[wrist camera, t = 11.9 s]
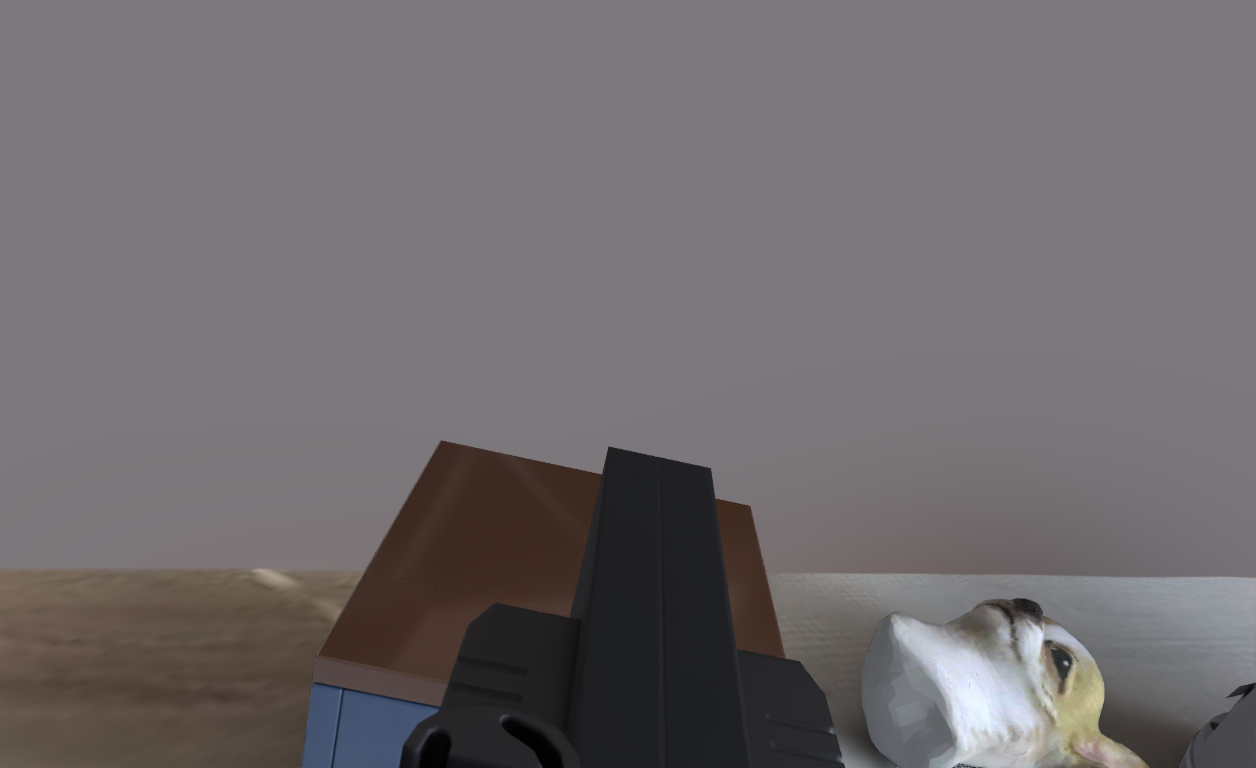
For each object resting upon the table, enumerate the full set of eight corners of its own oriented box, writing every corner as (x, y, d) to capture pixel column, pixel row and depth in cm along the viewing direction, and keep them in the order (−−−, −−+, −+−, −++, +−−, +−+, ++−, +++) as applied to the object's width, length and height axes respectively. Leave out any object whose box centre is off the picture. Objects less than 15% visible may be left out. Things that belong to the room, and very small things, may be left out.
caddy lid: (437, 457, 37) (440, 439, 37) (746, 523, 37) (751, 505, 37) (310, 682, 23) (314, 655, 23) (800, 780, 24) (809, 754, 23)
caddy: (394, 694, 39) (432, 466, 36) (683, 752, 40) (747, 532, 37) (269, 995, 27) (310, 684, 23) (699, 1074, 27) (800, 781, 24)
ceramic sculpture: (847, 522, 44) (1093, 560, 49) (788, 671, 47) (1026, 694, 52) (971, 665, 35) (1263, 697, 39) (887, 842, 37) (1170, 852, 42)
